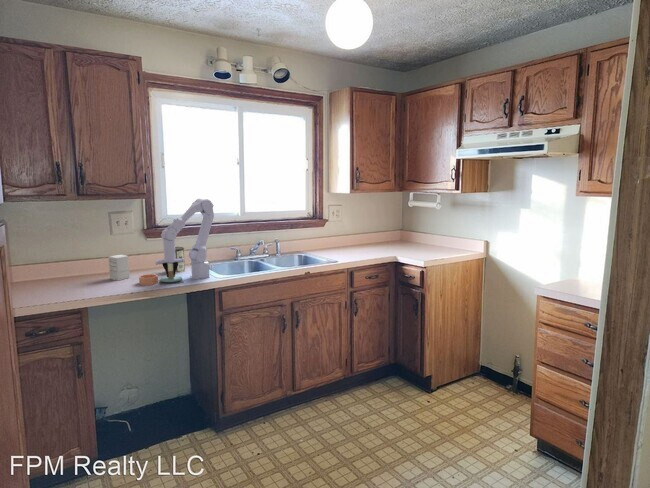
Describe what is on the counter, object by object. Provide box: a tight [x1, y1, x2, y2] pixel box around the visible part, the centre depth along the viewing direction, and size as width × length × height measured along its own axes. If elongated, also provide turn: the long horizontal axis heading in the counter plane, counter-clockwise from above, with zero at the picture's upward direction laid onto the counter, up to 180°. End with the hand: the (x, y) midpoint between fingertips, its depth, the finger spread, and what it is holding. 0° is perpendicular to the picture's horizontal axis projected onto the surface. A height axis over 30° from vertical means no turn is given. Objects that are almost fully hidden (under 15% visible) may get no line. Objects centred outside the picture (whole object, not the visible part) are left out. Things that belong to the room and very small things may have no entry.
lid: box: [159, 270, 183, 282], centre depth 227 cm, size 11×11×5 cm
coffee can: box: [168, 246, 186, 274], centre depth 251 cm, size 10×10×14 cm
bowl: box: [138, 273, 159, 286], centre depth 223 cm, size 9×9×4 cm
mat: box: [158, 279, 185, 286], centre depth 227 cm, size 12×12×1 cm
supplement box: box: [107, 254, 130, 281], centre depth 233 cm, size 7×7×13 cm
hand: (170, 276), depth 227 cm, fingers closed on lid, 2 cm apart
